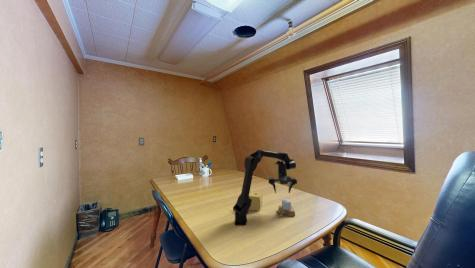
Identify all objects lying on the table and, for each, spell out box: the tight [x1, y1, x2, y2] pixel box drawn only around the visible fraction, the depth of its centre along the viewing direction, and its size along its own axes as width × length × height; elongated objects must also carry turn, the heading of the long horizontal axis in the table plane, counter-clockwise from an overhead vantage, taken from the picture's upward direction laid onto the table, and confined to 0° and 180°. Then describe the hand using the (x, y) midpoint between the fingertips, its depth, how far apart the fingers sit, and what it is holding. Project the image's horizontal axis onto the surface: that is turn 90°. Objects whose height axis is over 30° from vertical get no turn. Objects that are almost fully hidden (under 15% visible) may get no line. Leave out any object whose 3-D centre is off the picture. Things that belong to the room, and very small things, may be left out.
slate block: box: [281, 198, 292, 210], centre depth 127 cm, size 5×5×5 cm
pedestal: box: [278, 205, 296, 217], centre depth 128 cm, size 9×9×3 cm
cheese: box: [248, 191, 264, 212], centre depth 137 cm, size 10×11×10 cm
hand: (282, 193), depth 131 cm, fingers open, 9 cm apart
